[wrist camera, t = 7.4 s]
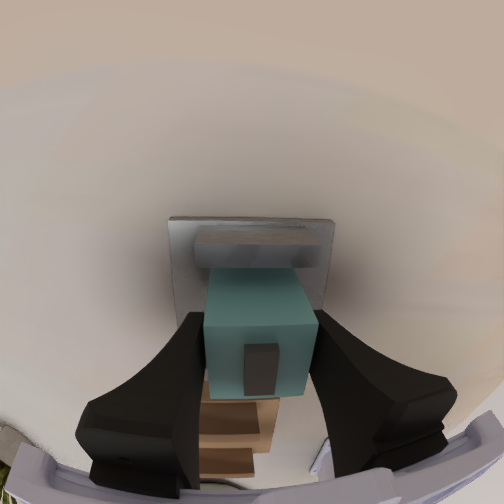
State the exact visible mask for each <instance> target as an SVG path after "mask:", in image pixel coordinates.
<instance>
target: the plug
mask: <svg viewBox="0 0 504 504" xmlns="http://www.w3.org/2000/svg"><path fill="white" fill-rule="evenodd" d="M318 325H319V323H318V320H317V318H316V316H315V314H314V312H313V309H312V307H311V305H310V303H309V301H308V298H307V296H306V294H305V292H304V290H303V288H302V285H301V283H300V281H299V279H298V277H297V275H296V272H295V270H294V268H211V271H210V278H209V285H208V293H207V301H206V309H205V317H204V325H203V328H204V340H205V352H206V362H207V373H208V382H209V392H210V399H252V398H273V397H287V396H299V395H303V394H304V390H305V386H306V381H307V377H308V373H309V368H310V364H311V359H312V355H313V350H314V345H315V341H316V336H317V331H318Z"/></svg>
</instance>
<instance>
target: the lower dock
mask: <svg viewBox="0 0 504 504" xmlns="http://www.w3.org/2000/svg"><path fill="white" fill-rule="evenodd" d="M168 228H169V245H170V259H171V271H172V282H173V292H174V302H175V311H176V319H177V327H178V328H179V327H180V325H181V324H182V322H183V320H184V319H185V317H186V315H187V314H188V313H189V312H204V317H205V309H206V301H207V293H208V285H209V278H210V271H211V268H294V270H295V272H296V275H297V277H298V279H299V281H300V283H301V285H302V288H303V290H304V292H305V294H306V296H307V298H308V301H309V303H310V305H311V307H312V309H313V310H321V308H322V303H323V298H324V292H325V286H326V281H327V275H328V269H329V263H330V256H331V250H332V243H333V236H334V228H335V223H334V222H333V221H332V220H320V219H290V218H243V217H170V219H169V220H168ZM204 381H208V373H207V362H206V369H205V376H204Z"/></svg>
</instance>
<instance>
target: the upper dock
mask: <svg viewBox="0 0 504 504" xmlns="http://www.w3.org/2000/svg"><path fill="white" fill-rule="evenodd" d="M279 400H280V398H279V397H273V398H252V399H210V392H209V382H208V381H204V383H203V390H202V397H201V405H200V414H199V473H200V478H249V477H254V474H255V472H254V463H253V454H254V453H269V451H270V446H271V441H272V436H273V432H274V427H275V421H276V416H277V411H278V406H279Z"/></svg>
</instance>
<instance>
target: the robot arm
mask: <svg viewBox="0 0 504 504" xmlns="http://www.w3.org/2000/svg"><path fill="white" fill-rule="evenodd" d="M313 312H314V314H315V316H316V318H317V320H318V323H319V325H318V331H317V336H316V341H315V345H314V350H313V355H312V359H311V364H310V368H309V373H310V376H311V379H312V381H313V384H314V387H315V389H316V392H317V395H318V397H319V400H320V403H321V406H322V409H323V413H324V418H325V422H326V426H327V431H328V436H329V439H327V440H326V441H325V443H324V445H323V447H322V449H321V451H320V453H319V455H318V457H317V459H316V461H315V462H314V464H313V466H312V468H311V470H310V471H309V474H310V475H316V474H318V478H319V482H314V483H309V484H302V485H295V486H288V487H279V488H269V489H256V490H231V491H214V490H200V473H199V414H200V405H201V397H202V390H203V383H204V376H205V369H206V352H205V340H204V328H203V325H204V312H189V313H188V314H187V315H186V317H185V319H184V320H183V322H182V324H181V325H180V327H179V328H178V330H177V331H176V332H175V334H174V335H173V336H172V338H171V339H170V340H169V342H168V343H167V344H166V345H165V346H164V348H163V349H162V350H161V351H160V352H159V353H158V354H157V355H156V357H155V358H154V359H153V360H152V361H151V362H150V363H148V364H147V365H146V366H145V367H144V368H143V369H142V370H141V371H139V372H138V373H137V374H136V375H134V376H133V377H132V378H131V379H129V380H128V381H126V382H125V383H123V384H122V385H120V386H119V387H117V388H115V389H114V390H112V391H110V392H108V393H106V394H104V395H102V396H100V397H98V398H96V399H94V400H92V401H89V402H88V403H87V406H86V407H85V409H84V411H83V413H82V416H81V418H80V421H79V424H78V427H77V429H76V432H75V436H76V439H77V441H78V442H79V444H80V446H81V447H82V448H83V449H84V450H85V452H86V453H87V454H88V455H89V456H90V458H91V459H92V460H93V462H92V466H91V470H90V473H88V472H85V471H81V470H78V469H75V468H72V467H69V466H66V465H63V464H60V463H57V461H56V460H55V459H54V458H53V457H52V456H51V455H50V454H48V453H47V452H45V451H43V450H41V449H38V448H36V447H33V446H31V445H29V444H26V443H24V442H21V444H20V447H19V449H18V452H17V454H16V457H15V459H14V462H13V465H12V467H11V470H10V473H9V476H8V479H7V482H6V485H5V488H4V490H5V492H7V493H8V494H10V495H11V496H12V497H14V498H15V499H17V500H18V501H20V502H21V503H23V504H436V503H438V502H440V501H441V500H443V499H445V498H446V497H448V496H450V495H451V494H453V493H455V492H456V491H458V490H459V489H461V488H463V487H464V486H466V485H467V484H469V483H470V482H472V481H473V480H475V479H476V478H478V477H479V476H480V475H482V474H483V473H484V472H485V471H487V470H488V469H489V468H490V467H491V466H493V465H494V464H495V463H496V462H497V461H498V460H499V459H500V458H502V457H503V455H504V428H503V427H502V425H501V424H500V422H499V421H498V419H497V418H496V417H495V415H494V414H493V412H492V411H491V410H489V411H487V412H486V413H484V414H483V415H481V416H479V417H477V418H476V419H474V420H473V421H472V422H471V423H470V424H469V425H468V426H467V428H466V429H465V431H463V432H461V433H459V434H458V435H456V436H454V437H451V438H449V439H446V438H445V436H444V434H443V432H442V430H443V429H444V425H443V423H442V420H443V418H444V417H445V416H446V415H447V413H448V412H449V411H450V409H451V408H452V406H453V405H454V403H455V401H456V398H457V391H456V390H455V388H454V387H453V386H452V384H451V383H450V381H449V380H448V379H447V378H446V377H442V376H437V375H433V374H429V373H425V372H422V371H419V370H416V369H413V368H411V367H408V366H405V365H403V364H401V363H399V362H396V361H394V360H392V359H390V358H388V357H386V356H384V355H383V354H381V353H379V352H377V351H376V350H374V349H372V348H371V347H369V346H368V345H366V344H365V343H363V342H362V341H361V340H359V339H358V338H356V337H355V336H354V335H352V334H351V333H350V332H349V331H347V330H346V329H345V328H344V327H342V326H341V325H340V324H339V323H338V322H336V321H335V320H334V319H333V318H332V317H330V316H329V315H328V314H327V313H326V312H324V311H323V310H322V309H321V310H313Z"/></svg>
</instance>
